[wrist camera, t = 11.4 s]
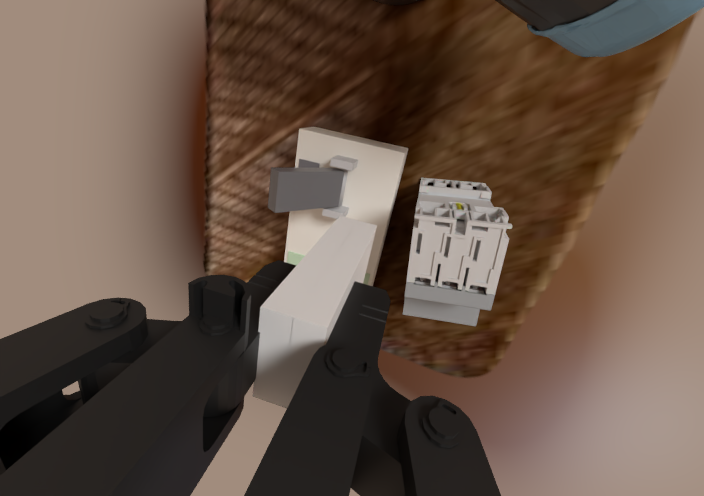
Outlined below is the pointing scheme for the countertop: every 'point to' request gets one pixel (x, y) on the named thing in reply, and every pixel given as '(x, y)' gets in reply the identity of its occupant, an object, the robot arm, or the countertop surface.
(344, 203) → the console
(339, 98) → the countertop surface
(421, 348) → the countertop surface
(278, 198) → the lever
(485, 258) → the circuit breaker
